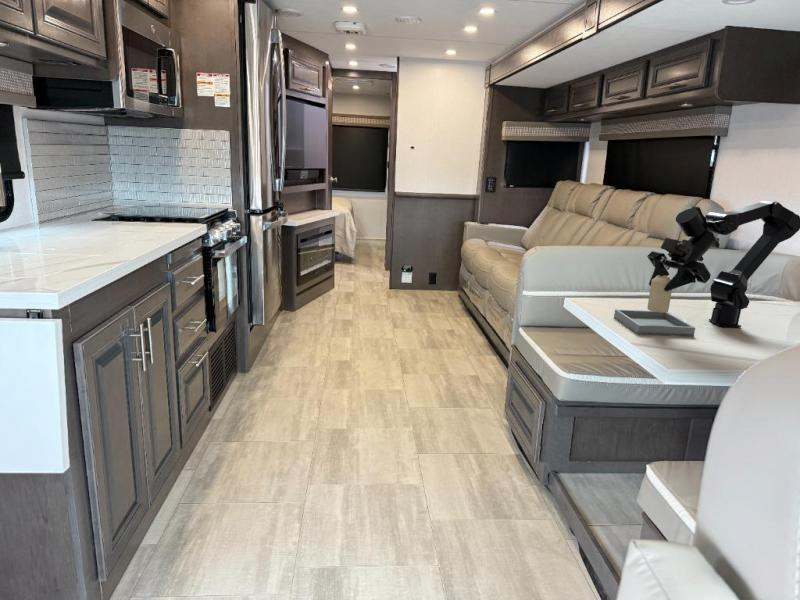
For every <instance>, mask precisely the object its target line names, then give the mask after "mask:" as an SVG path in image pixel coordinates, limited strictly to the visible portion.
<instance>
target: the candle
mask: <svg viewBox="0 0 800 600" xmlns="http://www.w3.org/2000/svg"><path fill="white" fill-rule="evenodd" d="M670 281H671V278H670V276H660V275H657V276H656V277H655V278H654V279H652V282H651V286H650V288H649V294H648V301H647V307H646V308H647V311H653V312H659V313H666V312H668V311H669V309H670V303H671V298H672V292H673V291H672V290H673V289H672V290H670V291H667V292H666V291H665V290H664V288H665V287H666V285H667V284H668V283H669V282H670ZM668 313H669V312H668Z"/></svg>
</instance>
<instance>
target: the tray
mask: <svg viewBox="0 0 800 600" xmlns="http://www.w3.org/2000/svg"><path fill="white" fill-rule="evenodd" d="M613 318H614V319H615V320H617V321H618V320H619V323H621V324H623V325H624V326H625V327H627V328H628V329H629V330H631V331H633V332H634V333H636V334H637V335H645V336H646V335H650V336H651V335H652V336H672V335H674V336H675V337H676V336H677V337H678V336H679V337H694V336H695V331H696V327H695V326H693V325H691V324H689V323H687V322H685V321H684V320H682V319H681V318H679V317H678V316H676V315H674V314H671V313H670V312H666V313H659V312H653V311H650V310H642V309H641V310H638V309H636V310H635V309H615V310H614V314H613Z"/></svg>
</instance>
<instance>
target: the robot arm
mask: <svg viewBox="0 0 800 600" xmlns="http://www.w3.org/2000/svg"><path fill="white" fill-rule="evenodd" d="M759 220H761V221H762V222H763V227H762V228H763V229H762V234H761V235H760V237H759V238H758V239H757V240H756V241H755V242H754V244H753V245H752V246H751V248H750V249H748V251H747V252H746V253H745V255H743V257H742V258H741V259H740V260H739V261H738V263H737V264H736V265H735V266H734V267H733V268H732V270H729V271H726V270H725V271H724V270H721V271H720V272H719V273H718V274H717V277H715V278H714V279H713V280H712V283H711V285H710V299H711V302H714V303H715V304H714V305H715V306H714V307H713V309H712V313H711V317H710V318H709V319H708V322H711V323H713V324H714V325H716V326H719V327H722V328H742V325H740V324H739V321H740V317H741V312H742V310H744V309H747V308H748V306H749V304H750V300H749V298H748V297H747V295H746V292H747V290H748V285H749V283H748V281H749V279H750V278H751V277H752V276H753V275H754V273H755V272H756V271H757V270H758V269H759V267H761V265H762V264H763V263H764V262H765V260H766V259H767V258H768V257H769V256H770V254H771V253H772V252H774V250H775V248H776V247H778V245H779V244H780V243H783V242H784V241H787V240H789V239H791V238H793V236H794V235H796V234H797V233H798V232H799V231H800V215H799V214H797V213H796V212H794V211H792V210H790V209H788V208H786V207H785V206H783V205H782V203H780V202H779V201H773V200H767V199H766V200H761V201H759V202H758V203H754V204H753V203H752V204H751V205H748V206H743V207H740V208H737V209H734V210H731V211H713V212H709V213H707V214H703V211H702V209H701V208H700V206H697V205H696V206H695V205H693V206H692V207H691V208H688V209H687V208H686V209H685V210H682V211H681V212H679V213H678V214H677V215H676V217H675V222H676V224H678V226H679V228H680V229H681V232H682V233H683V234H684V236H685V237H687V238H688V239H682V240H681V241H680V240H677V239H674V238H670V237H664V240H663V242H662V244H661V246H660V249H661V250H664V251H666V252H668V253H667V255H668V257H667V255H666V254H665V253H664V252H660V251H655V250H654V251H651V252H650V253H649V254H648V255H646V258H647V259H648V260H649V262H650V263H651V265H653V267H654V269H653V273H652V275H651V277H650V280H649V282H648V286H650V287H651V282H652V279H654V278H655V277H656V276H657V275H660V276H667V277H669V276H670V272H669V271H668V270H669V269H671V268H672V269H674V270H677V271H676V273H675V275H674V276H673V277H672V279H671V278H670V279H671V281H670V282H669V283H668V284H667V285H666V287H665V288H664V290H665V291H666V292H667V291H670V290H675V289H677V288H680V287H683V286H686V285H689V284H692V283H693V284H695V283H696V282H699V283H701V284H707V282H708V281H709V280H711V277H712V275H711V274H712V273H710V271H709V270H708V268H707V266H706V264H705V263H704V262H703V260H704V257H703V256H704V255H705V253H707V252H708V251H709V249H711V248H714V249H715V248H716V249H719V248H720V238H719V237H716V236H715V234H718V235H721V236H727V235H730V234H731V233H733V232H735V231H737V230H738V228H739V227H740V226H742V225H746V224H748V223H752V222H755V221H759ZM669 258H670V259H669Z"/></svg>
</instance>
